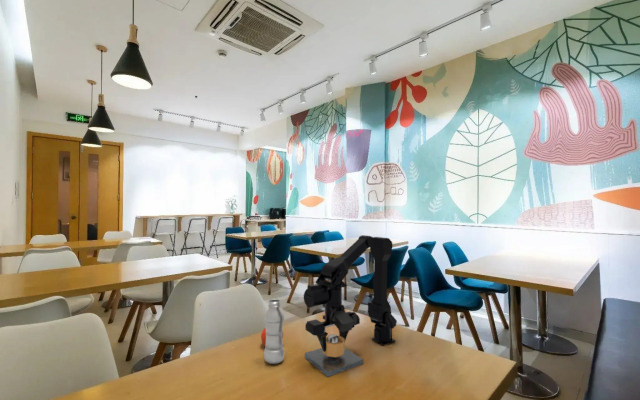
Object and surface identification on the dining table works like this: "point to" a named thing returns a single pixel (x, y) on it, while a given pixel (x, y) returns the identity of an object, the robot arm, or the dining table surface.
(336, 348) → the collar
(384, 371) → the dining table surface
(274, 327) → the plastic bottle
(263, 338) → the apple
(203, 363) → the dining table surface
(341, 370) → the piston stand
